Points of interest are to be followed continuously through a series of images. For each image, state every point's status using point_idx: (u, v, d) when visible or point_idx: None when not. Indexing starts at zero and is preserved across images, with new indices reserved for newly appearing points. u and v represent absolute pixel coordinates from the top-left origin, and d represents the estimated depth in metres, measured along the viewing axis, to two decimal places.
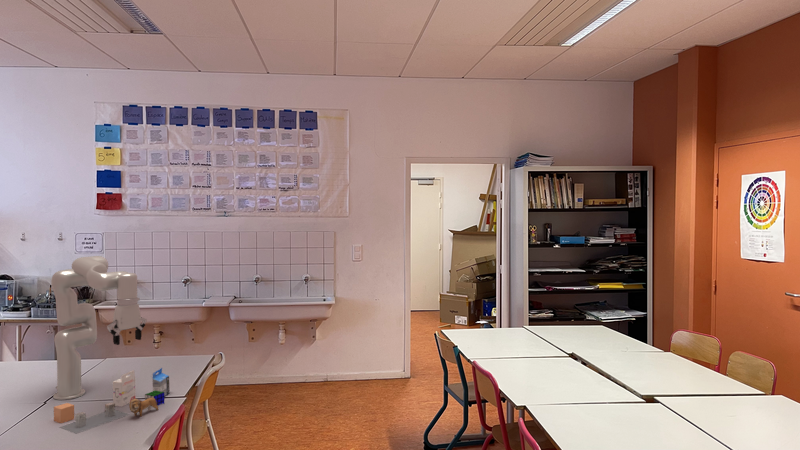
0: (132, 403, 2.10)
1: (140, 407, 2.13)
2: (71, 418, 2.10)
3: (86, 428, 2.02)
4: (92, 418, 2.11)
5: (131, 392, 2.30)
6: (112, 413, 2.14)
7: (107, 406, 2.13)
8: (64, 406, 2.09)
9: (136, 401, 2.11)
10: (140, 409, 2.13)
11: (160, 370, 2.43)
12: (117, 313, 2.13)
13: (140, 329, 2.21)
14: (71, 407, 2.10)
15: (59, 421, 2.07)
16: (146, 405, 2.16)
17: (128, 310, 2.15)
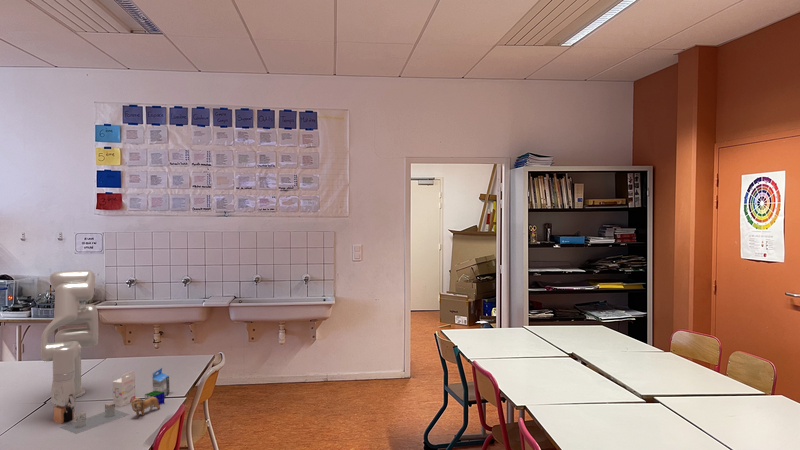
0: (134, 402, 2.11)
1: (142, 406, 2.14)
2: None
3: (86, 428, 2.02)
4: (92, 418, 2.11)
5: (131, 392, 2.30)
6: (112, 413, 2.14)
7: (107, 406, 2.13)
8: None
9: (138, 400, 2.12)
10: (142, 408, 2.14)
11: (160, 370, 2.43)
12: (71, 387, 2.08)
13: None
14: None
15: (59, 421, 2.07)
16: (148, 404, 2.17)
17: None
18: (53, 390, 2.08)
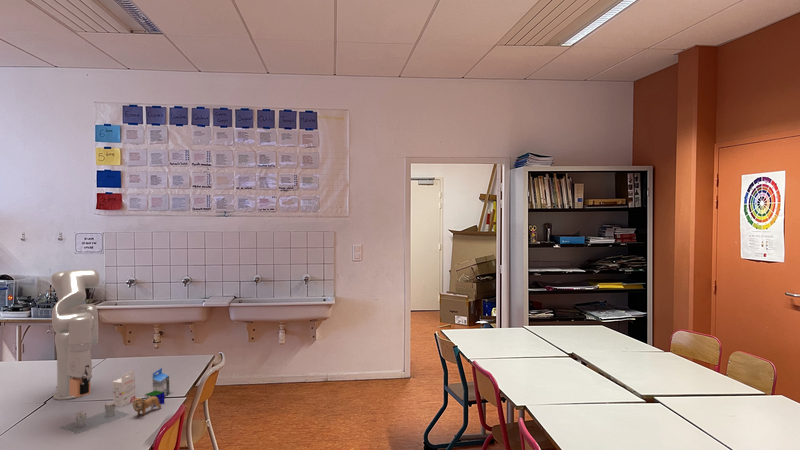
0: (135, 402, 2.11)
1: (143, 406, 2.14)
2: None
3: (86, 428, 2.02)
4: (92, 418, 2.11)
5: (131, 392, 2.30)
6: (112, 413, 2.14)
7: (107, 406, 2.13)
8: None
9: (139, 400, 2.12)
10: (143, 408, 2.15)
11: (160, 370, 2.43)
12: (88, 358, 2.02)
13: None
14: None
15: (75, 393, 2.01)
16: (149, 404, 2.18)
17: None
18: (69, 361, 2.02)
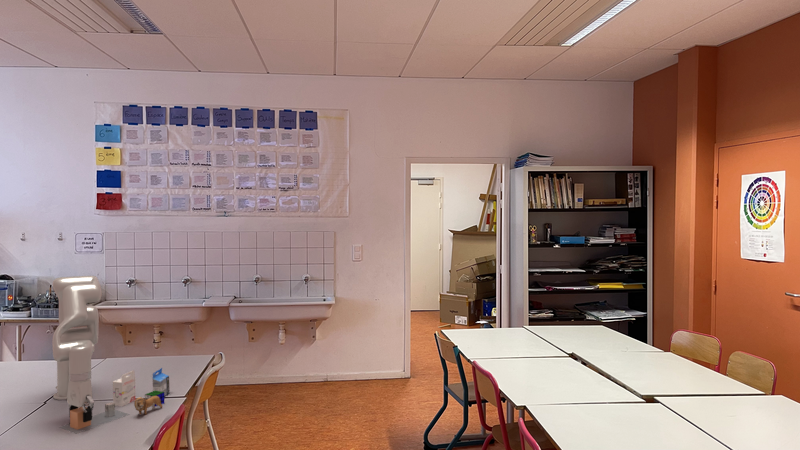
0: (137, 401, 2.12)
1: (145, 405, 2.15)
2: (88, 422, 2.04)
3: (86, 428, 2.02)
4: (92, 418, 2.11)
5: (131, 392, 2.30)
6: (112, 413, 2.14)
7: (107, 406, 2.13)
8: (81, 410, 2.03)
9: (141, 399, 2.13)
10: (145, 407, 2.15)
11: (160, 370, 2.43)
12: (88, 387, 2.02)
13: None
14: None
15: (76, 425, 2.01)
16: (151, 403, 2.18)
17: None
18: (70, 390, 2.02)
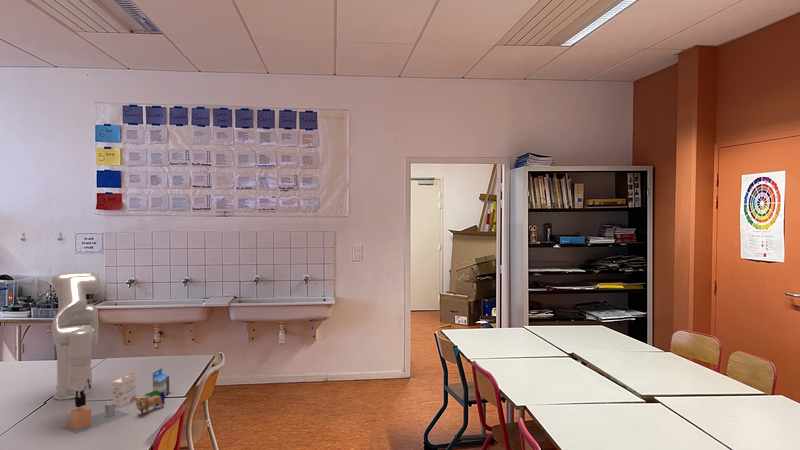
0: (139, 401, 2.13)
1: (147, 405, 2.16)
2: (88, 422, 2.04)
3: (86, 428, 2.02)
4: (92, 418, 2.11)
5: (131, 392, 2.30)
6: (112, 413, 2.14)
7: (107, 406, 2.13)
8: (81, 410, 2.03)
9: (143, 399, 2.14)
10: (147, 406, 2.16)
11: (160, 370, 2.43)
12: (88, 372, 2.02)
13: None
14: (88, 411, 2.04)
15: (76, 425, 2.01)
16: (152, 403, 2.19)
17: None
18: (69, 374, 2.02)
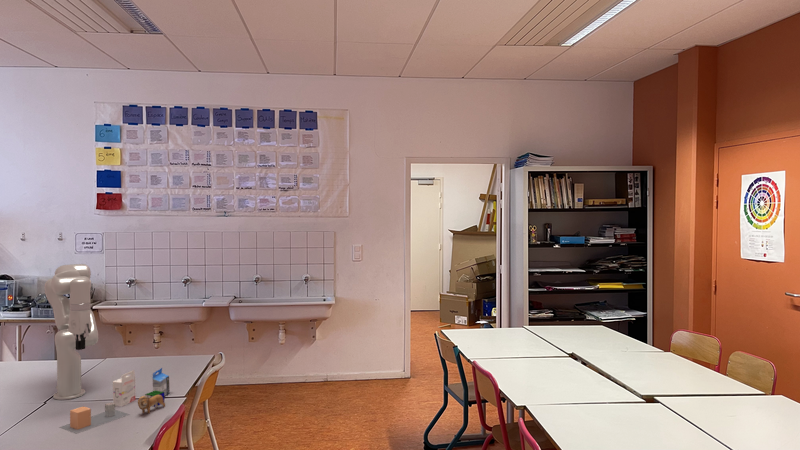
0: (141, 400, 2.14)
1: (148, 404, 2.17)
2: (88, 422, 2.04)
3: (86, 428, 2.02)
4: (92, 418, 2.11)
5: (131, 392, 2.30)
6: (112, 413, 2.14)
7: (107, 406, 2.13)
8: (81, 410, 2.03)
9: (145, 398, 2.15)
10: (148, 406, 2.17)
11: (160, 370, 2.43)
12: (87, 317, 2.19)
13: None
14: (88, 411, 2.04)
15: (76, 425, 2.01)
16: (154, 402, 2.20)
17: None
18: (70, 319, 2.19)
